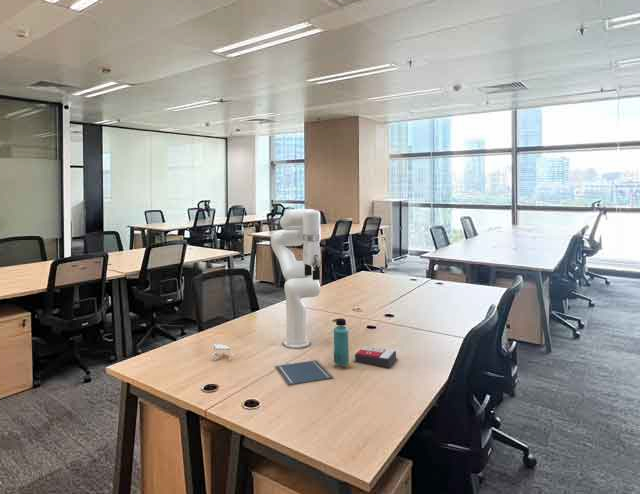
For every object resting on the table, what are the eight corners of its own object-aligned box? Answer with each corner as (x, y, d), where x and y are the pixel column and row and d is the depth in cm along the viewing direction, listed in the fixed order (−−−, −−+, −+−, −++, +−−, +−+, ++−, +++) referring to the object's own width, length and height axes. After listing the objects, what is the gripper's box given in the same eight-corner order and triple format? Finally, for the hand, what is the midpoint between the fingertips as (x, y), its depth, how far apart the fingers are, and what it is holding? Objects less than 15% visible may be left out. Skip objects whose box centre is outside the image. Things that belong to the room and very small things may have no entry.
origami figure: (205, 360, 188) (205, 348, 188) (215, 353, 195) (215, 342, 195) (229, 363, 183) (229, 352, 184) (238, 356, 191) (238, 345, 191)
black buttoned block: (363, 345, 194) (396, 349, 187) (364, 354, 194) (396, 359, 186) (354, 353, 185) (388, 357, 177) (355, 363, 184) (389, 368, 177)
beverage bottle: (350, 364, 181) (350, 317, 181) (347, 370, 175) (347, 322, 175) (335, 362, 184) (335, 316, 184) (331, 368, 177) (331, 320, 177)
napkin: (276, 366, 180) (276, 366, 180) (315, 361, 185) (315, 360, 185) (289, 385, 163) (289, 384, 163) (332, 378, 168) (332, 377, 168)
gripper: (297, 236, 193) (297, 274, 193) (310, 240, 177) (311, 282, 177) (312, 236, 195) (313, 273, 195) (327, 240, 179) (327, 280, 179)
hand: (312, 277), depth 186 cm, fingers open, 9 cm apart
